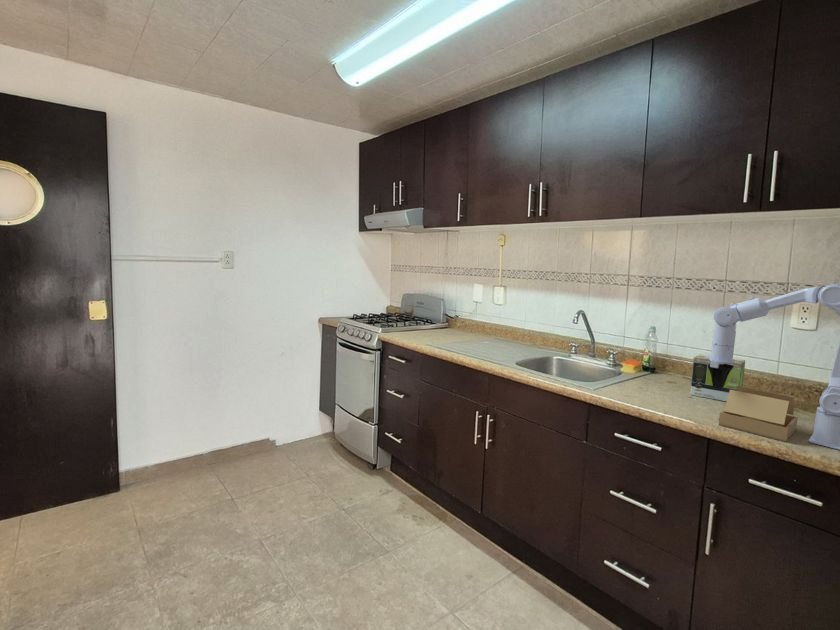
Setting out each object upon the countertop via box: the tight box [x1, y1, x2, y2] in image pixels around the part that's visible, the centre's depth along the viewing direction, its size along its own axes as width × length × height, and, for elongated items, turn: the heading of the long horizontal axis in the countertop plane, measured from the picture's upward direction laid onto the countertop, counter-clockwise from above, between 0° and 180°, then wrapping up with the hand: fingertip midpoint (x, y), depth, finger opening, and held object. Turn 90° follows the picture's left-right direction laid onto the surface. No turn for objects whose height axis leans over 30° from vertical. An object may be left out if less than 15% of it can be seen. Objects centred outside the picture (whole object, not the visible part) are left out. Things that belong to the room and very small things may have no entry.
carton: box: [718, 408, 799, 443], centre depth 132 cm, size 16×15×4 cm
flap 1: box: [723, 390, 789, 425], centre depth 128 cm, size 14×7×1 cm
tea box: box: [690, 354, 746, 402], centre depth 163 cm, size 15×10×15 cm, turn 48°
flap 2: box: [737, 386, 795, 416], centre depth 135 cm, size 14×7×1 cm
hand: (718, 387), depth 139 cm, fingers closed
